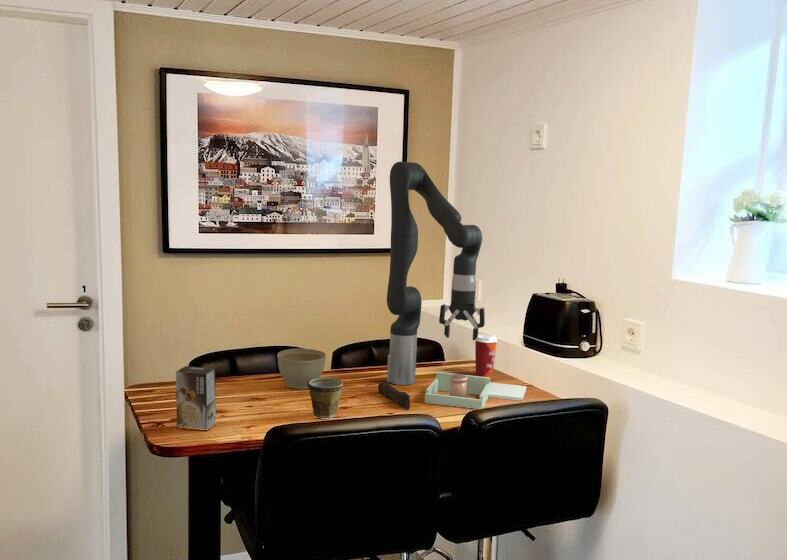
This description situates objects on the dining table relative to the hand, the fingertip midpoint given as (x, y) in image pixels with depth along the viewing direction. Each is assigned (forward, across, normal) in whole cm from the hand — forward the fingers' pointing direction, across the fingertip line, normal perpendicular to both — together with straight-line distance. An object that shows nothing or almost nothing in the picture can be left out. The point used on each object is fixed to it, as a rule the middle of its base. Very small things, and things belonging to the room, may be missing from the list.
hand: (460, 338), depth 218 cm
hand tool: (+20, -18, -9) cm, 29 cm away
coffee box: (+20, -63, -52) cm, 84 cm away
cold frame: (+20, 0, 0) cm, 20 cm away
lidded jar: (+20, 0, 0) cm, 20 cm away
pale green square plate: (+20, +13, +13) cm, 27 cm away
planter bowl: (+20, -52, -6) cm, 56 cm away
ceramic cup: (+20, -35, -30) cm, 50 cm away
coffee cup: (+20, +4, +30) cm, 36 cm away
